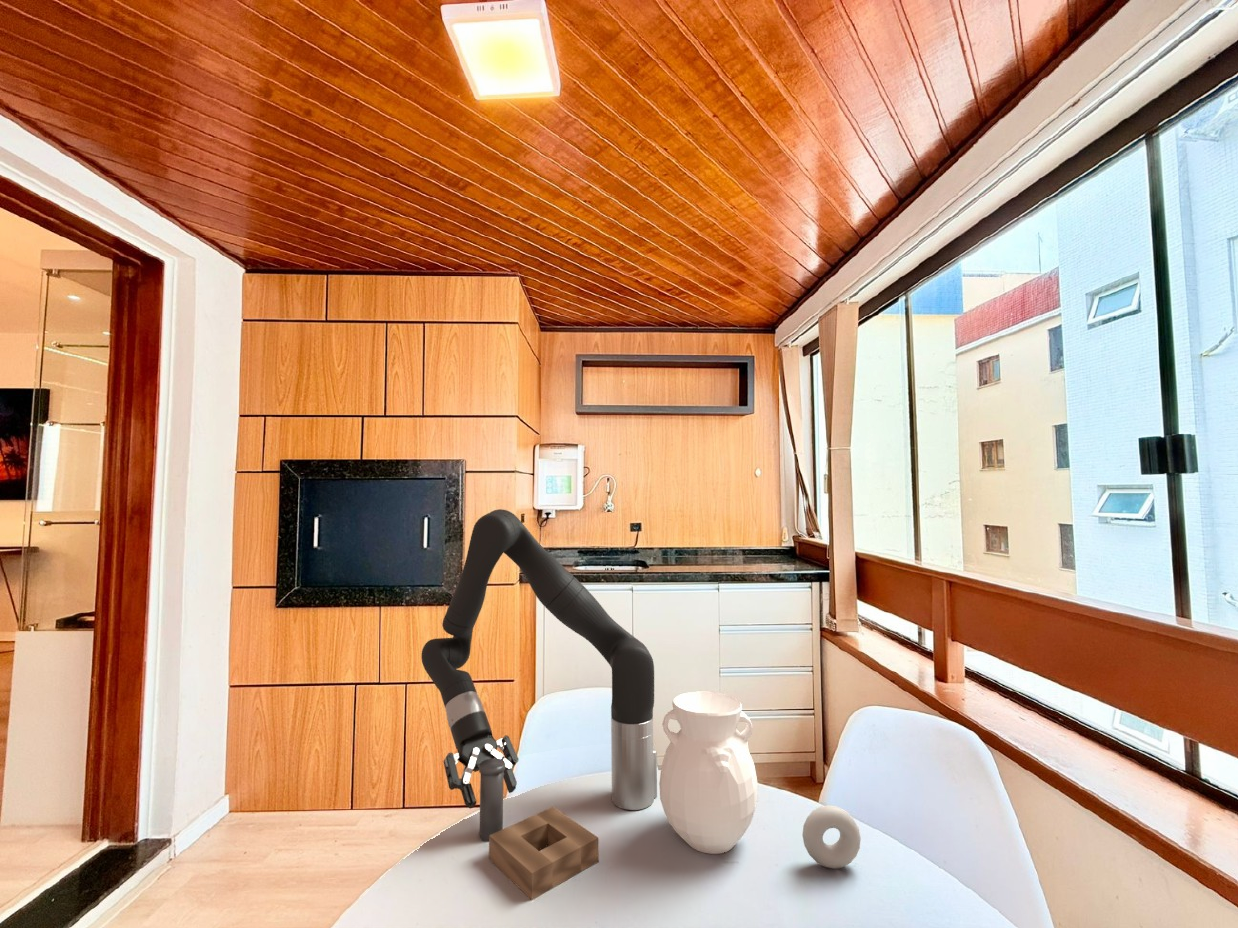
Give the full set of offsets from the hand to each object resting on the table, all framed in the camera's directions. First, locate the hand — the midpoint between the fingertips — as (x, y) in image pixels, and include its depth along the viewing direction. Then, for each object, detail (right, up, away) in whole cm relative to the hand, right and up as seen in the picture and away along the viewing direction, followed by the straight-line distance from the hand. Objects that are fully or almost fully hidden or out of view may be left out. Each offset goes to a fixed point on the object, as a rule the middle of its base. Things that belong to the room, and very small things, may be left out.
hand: (493, 798), depth 103 cm
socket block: (+11, -6, -8) cm, 15 cm away
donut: (+62, -6, -10) cm, 63 cm away
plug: (-1, -7, 0) cm, 7 cm away
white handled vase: (+42, -7, -2) cm, 42 cm away
